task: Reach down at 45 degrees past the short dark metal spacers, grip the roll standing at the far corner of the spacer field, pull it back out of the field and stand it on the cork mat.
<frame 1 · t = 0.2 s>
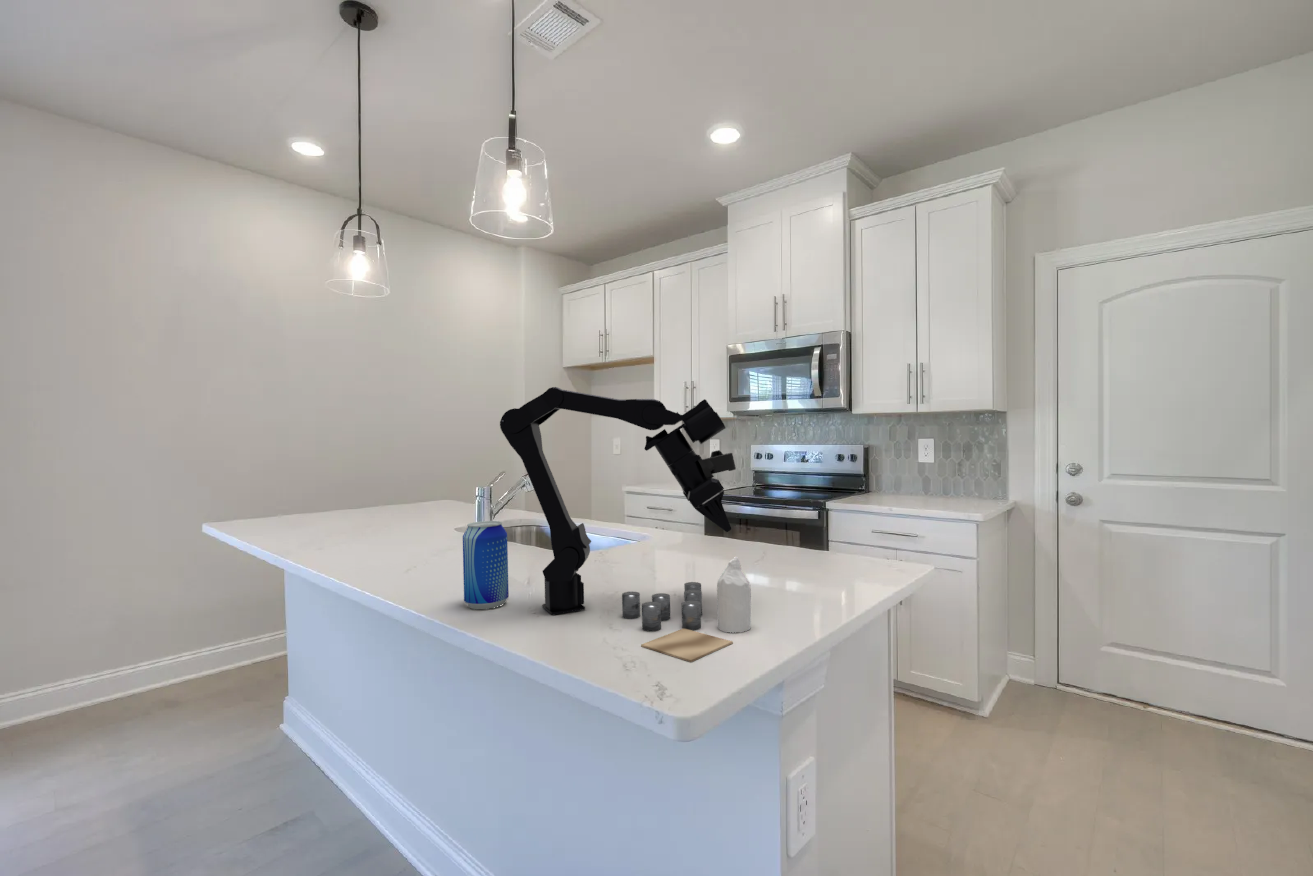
hand: (725, 527, 112), 15 cm above the countertop, tool tilted 30°, fingers open, 9 cm apart
mat: (687, 645, 91), on the countertop
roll: (734, 629, 99), on the countertop
beer can: (486, 605, 116), on the countertop
spacer field: (682, 622, 102), on the countertop
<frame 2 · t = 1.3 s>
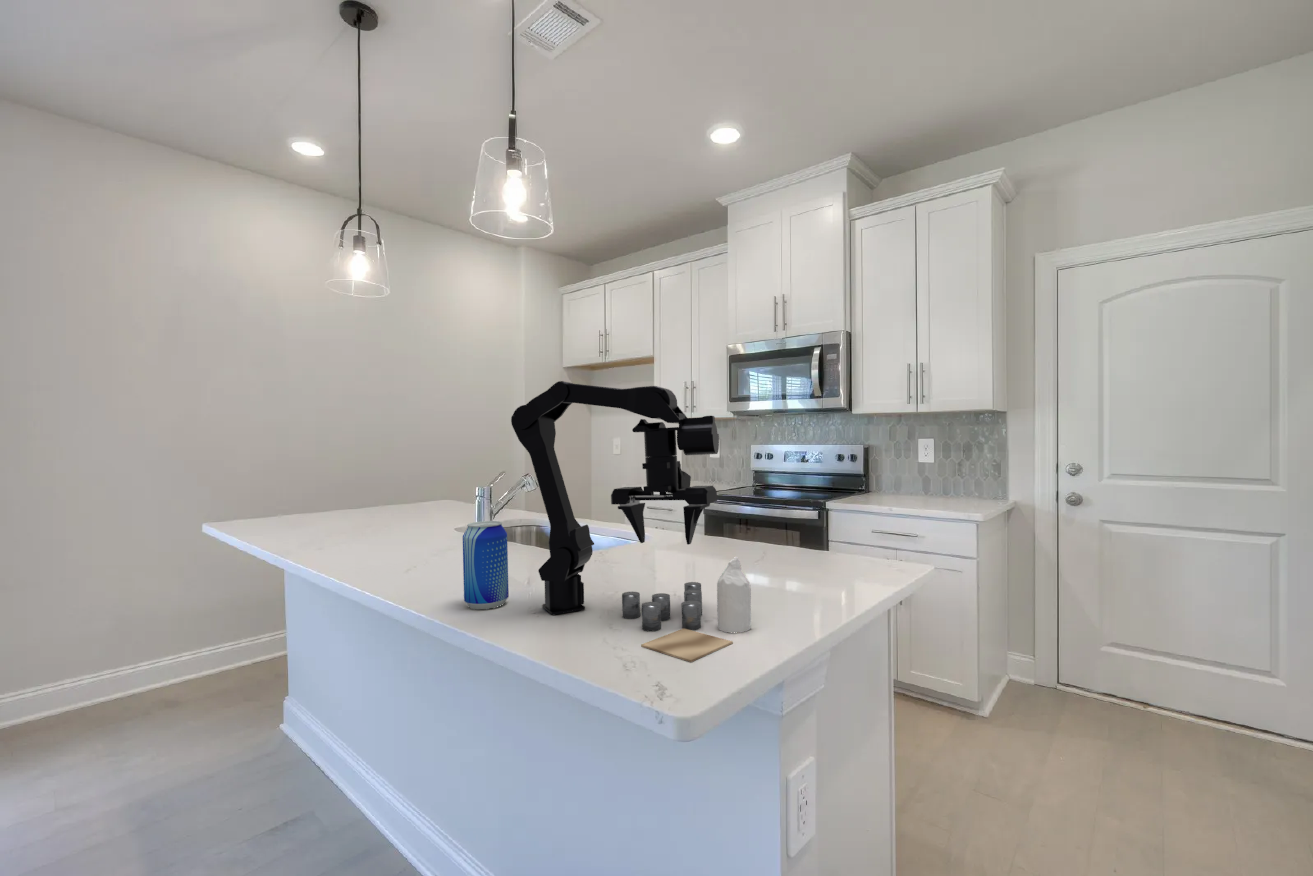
hand: (665, 543, 107), 13 cm above the countertop, tool pointing down, fingers open, 9 cm apart
nothing on the countertop moved.
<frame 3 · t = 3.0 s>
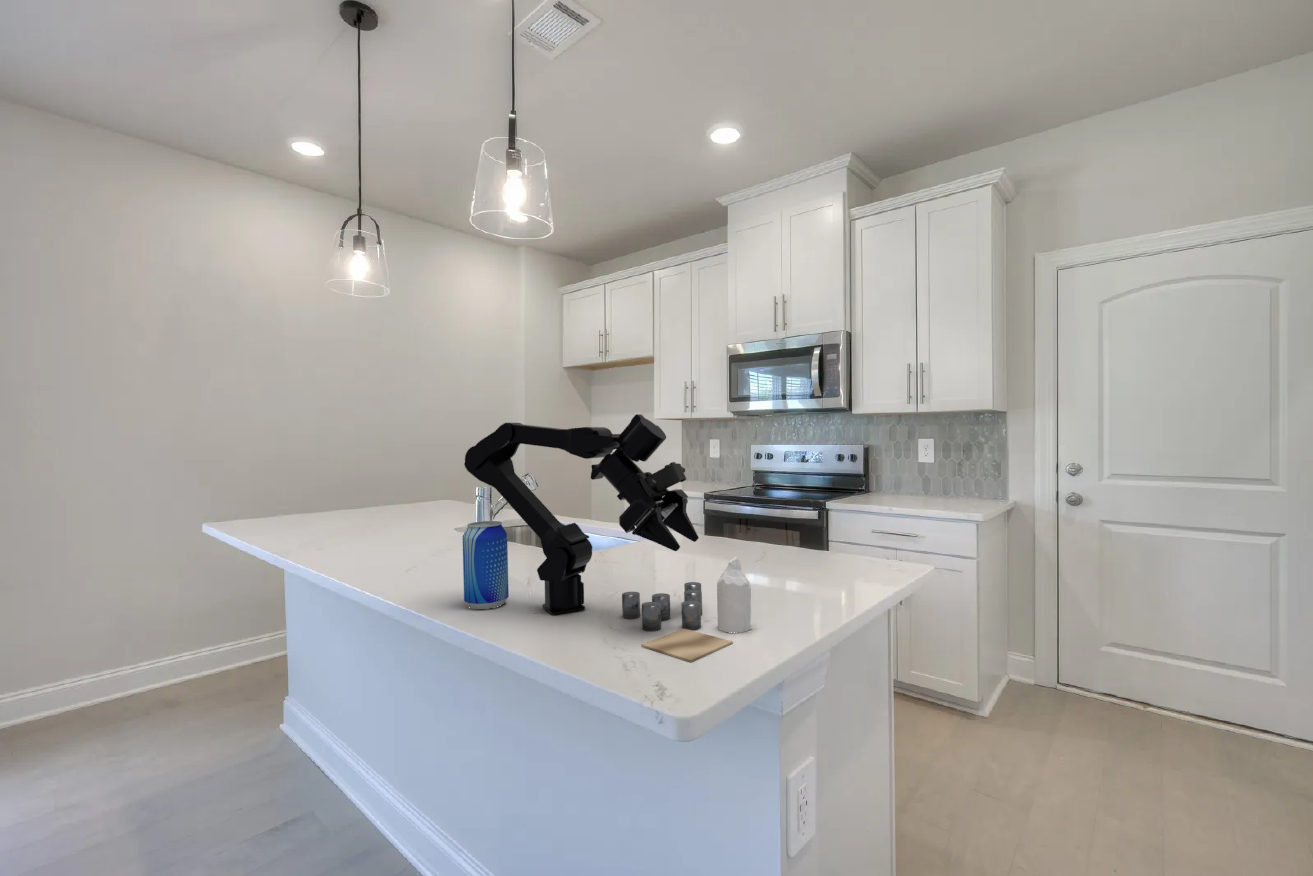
hand: (687, 544, 102), 13 cm above the countertop, tool tilted 45°, fingers open, 9 cm apart
nothing on the countertop moved.
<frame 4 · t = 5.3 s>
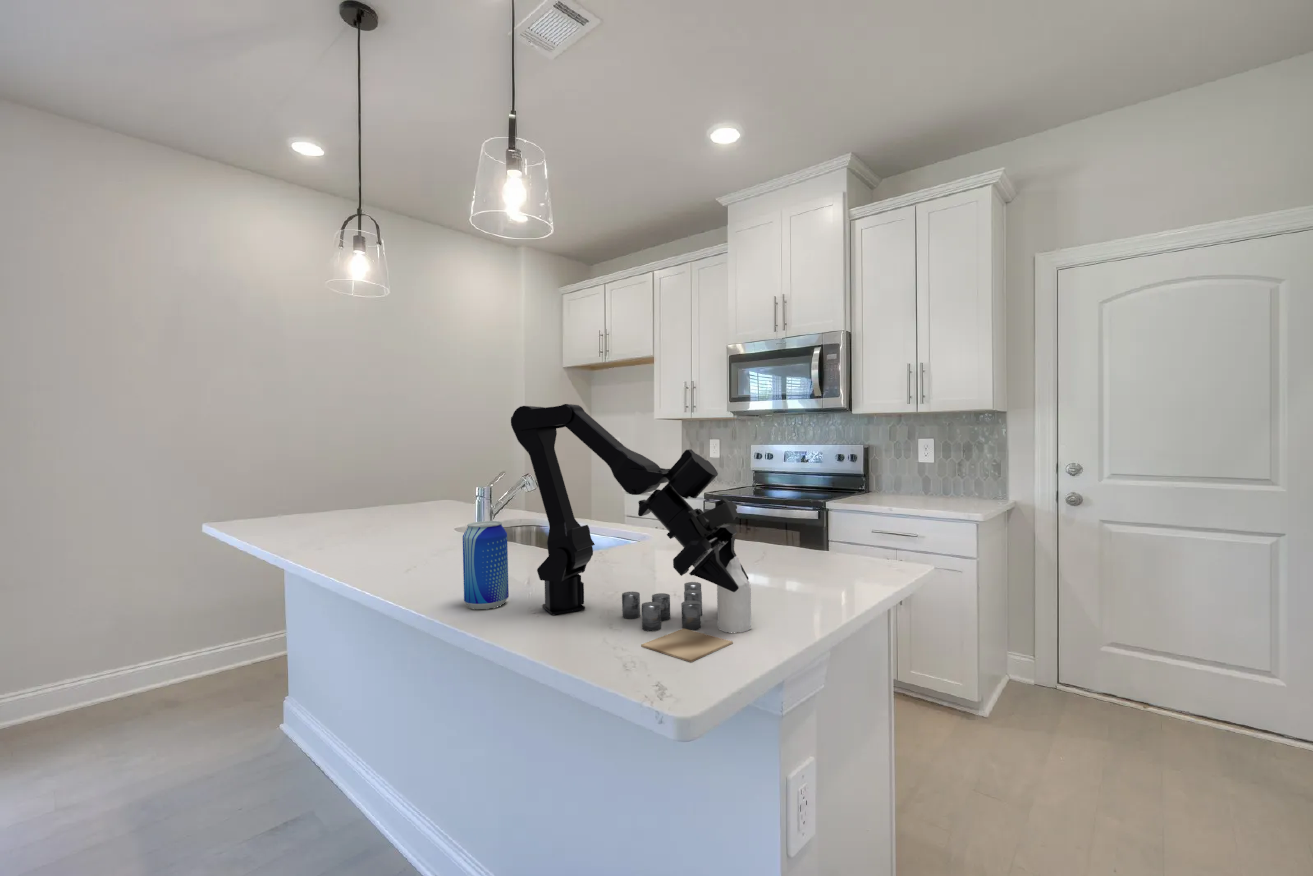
hand: (741, 585, 98), 7 cm above the countertop, tool tilted 45°, fingers closed on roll, 6 cm apart
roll: (734, 628, 99), on the countertop, touching gripper
everything else where it was.
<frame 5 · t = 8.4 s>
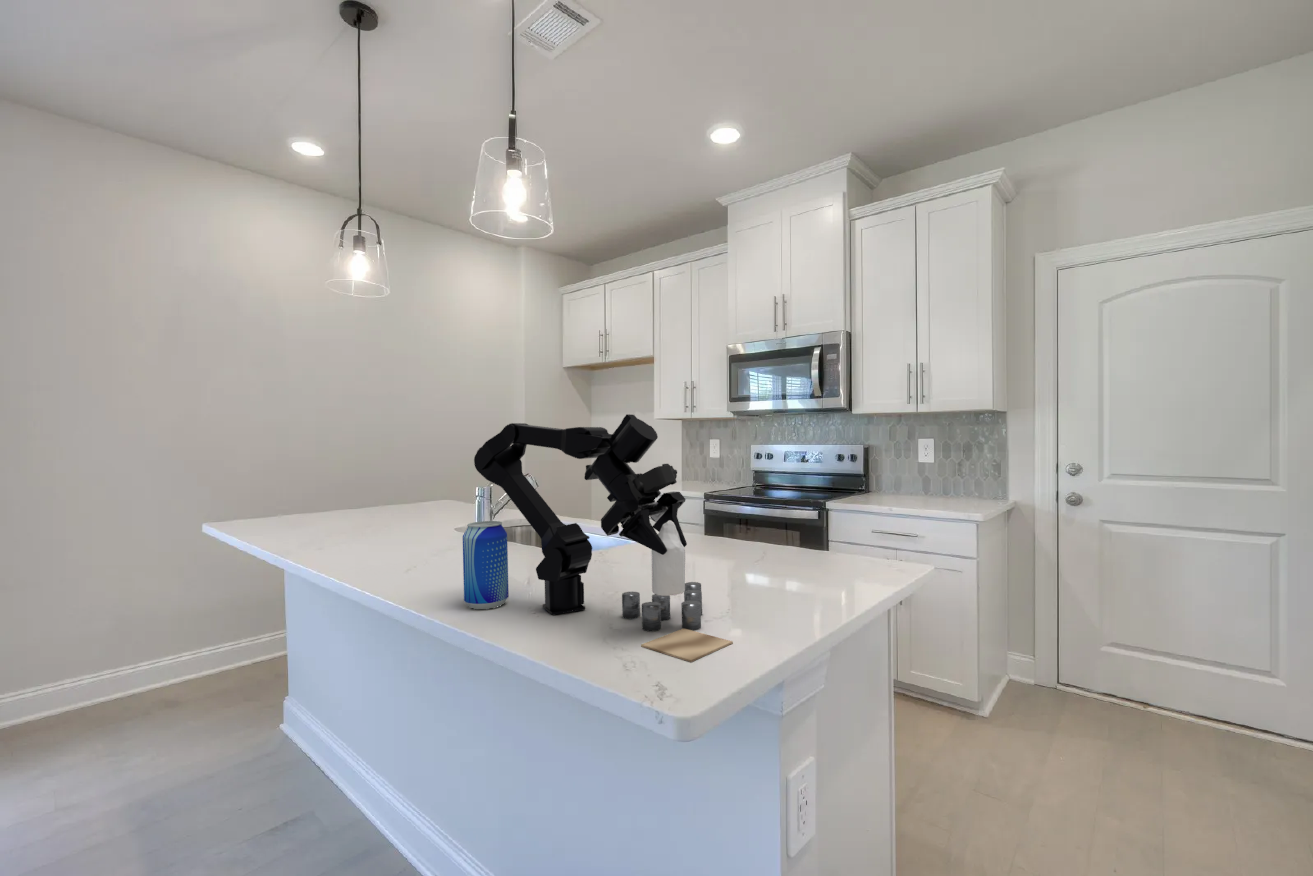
hand: (675, 549, 99), 13 cm above the countertop, tool tilted 45°, fingers closed on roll, 6 cm apart
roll: (669, 592, 99), point 6 cm above the countertop, touching gripper
everything else where it was.
when the fingers open (8 cm above the countertop, at t = 11.4 s): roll stays where it is, resting on mat.
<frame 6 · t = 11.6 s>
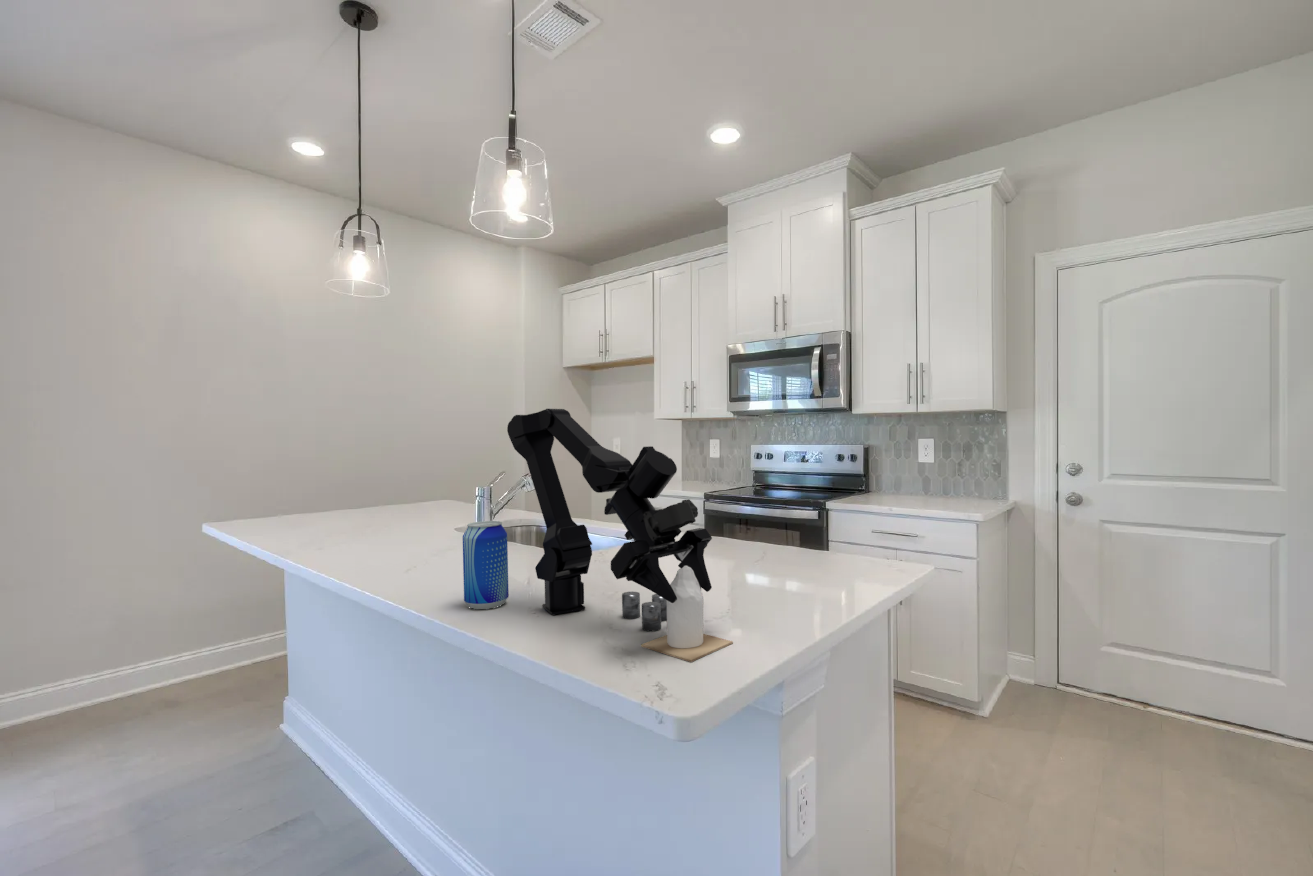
hand: (692, 595, 90), 8 cm above the countertop, tool tilted 45°, fingers open, 8 cm apart
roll: (685, 643, 91), resting on mat
everything else where it was.
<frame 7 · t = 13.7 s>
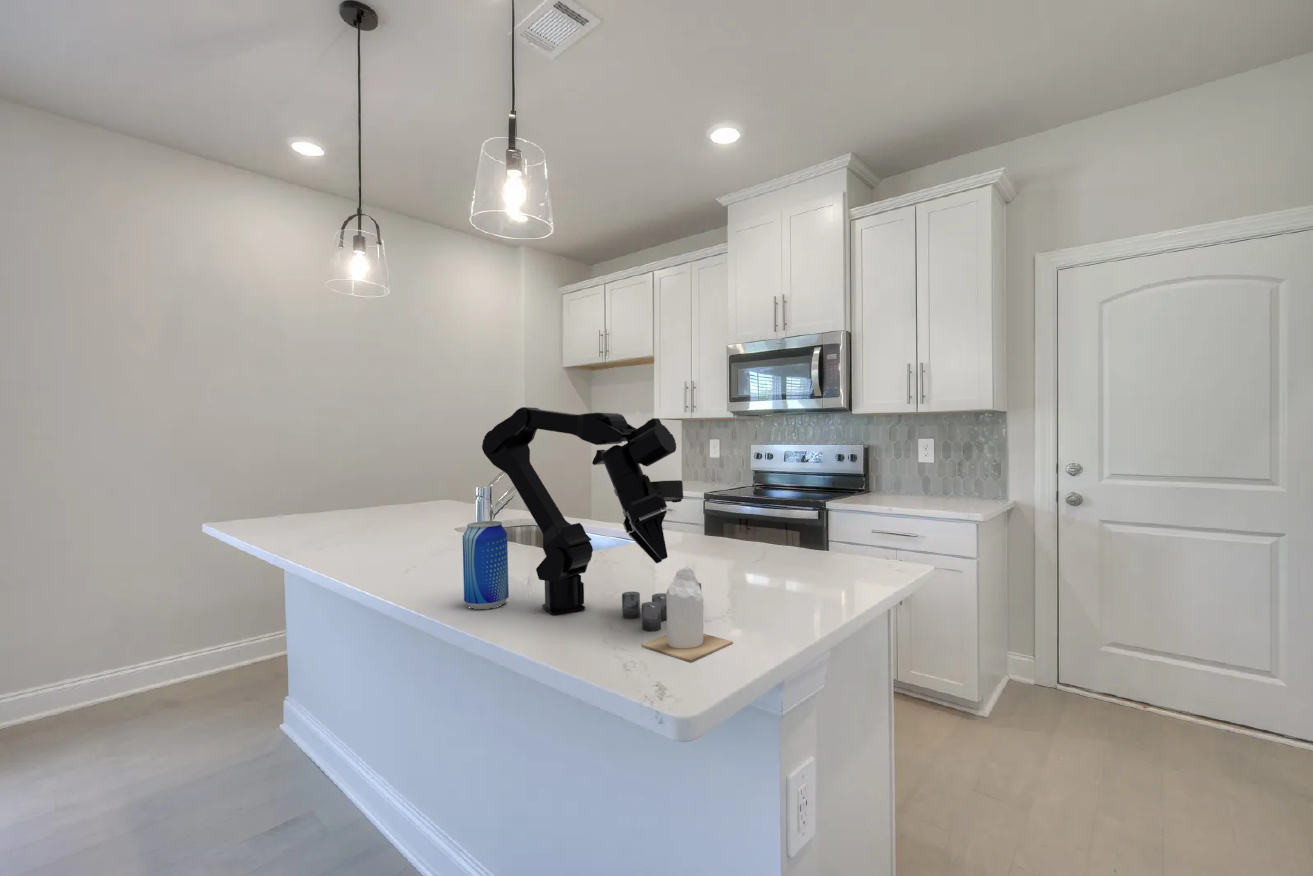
hand: (661, 560, 102), 11 cm above the countertop, tool tilted 25°, fingers open, 9 cm apart
nothing on the countertop moved.
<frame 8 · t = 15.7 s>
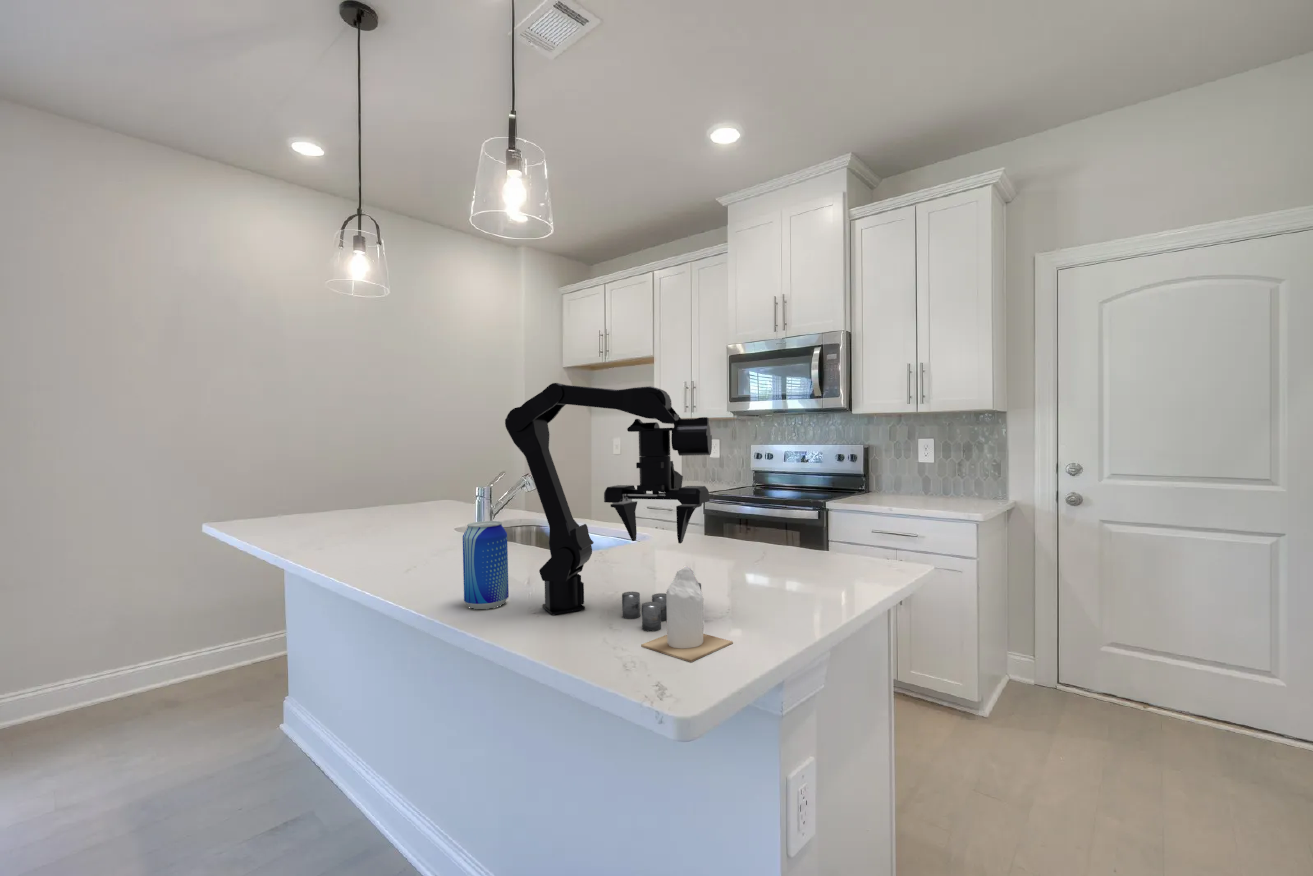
hand: (656, 541, 108), 13 cm above the countertop, tool pointing down, fingers open, 9 cm apart
nothing on the countertop moved.
at the end: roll 0.2 cm from the mat (horizontally); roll tilted 0°; the gripper is holding nothing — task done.
